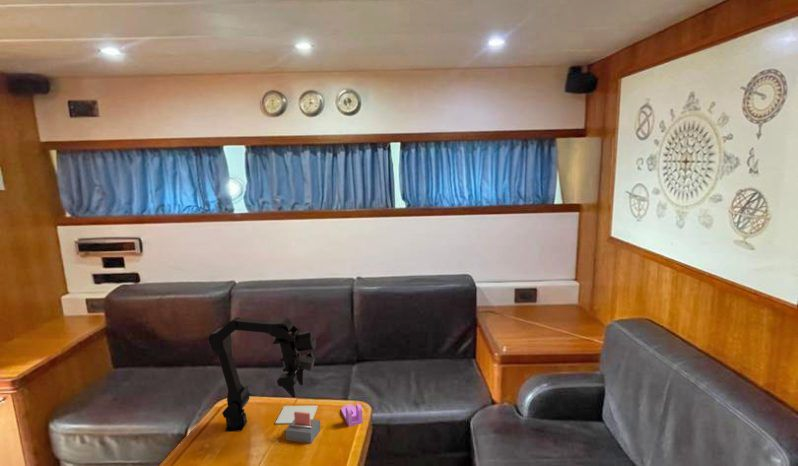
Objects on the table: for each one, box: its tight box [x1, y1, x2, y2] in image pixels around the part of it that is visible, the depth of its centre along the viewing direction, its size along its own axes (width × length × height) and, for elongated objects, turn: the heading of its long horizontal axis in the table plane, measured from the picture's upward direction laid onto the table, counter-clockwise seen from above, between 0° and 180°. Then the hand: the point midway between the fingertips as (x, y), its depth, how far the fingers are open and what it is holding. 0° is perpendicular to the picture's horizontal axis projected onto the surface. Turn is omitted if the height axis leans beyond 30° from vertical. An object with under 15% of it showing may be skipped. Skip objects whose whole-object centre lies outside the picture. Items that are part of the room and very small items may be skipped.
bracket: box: [340, 403, 364, 427], centre depth 177 cm, size 13×6×7 cm, turn 23°
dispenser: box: [285, 419, 321, 444], centre depth 166 cm, size 10×8×5 cm
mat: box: [274, 405, 319, 425], centre depth 179 cm, size 14×12×1 cm
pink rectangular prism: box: [294, 411, 311, 426], centre depth 165 cm, size 6×1×9 cm, turn 76°
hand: (298, 390), depth 169 cm, fingers open, 9 cm apart
